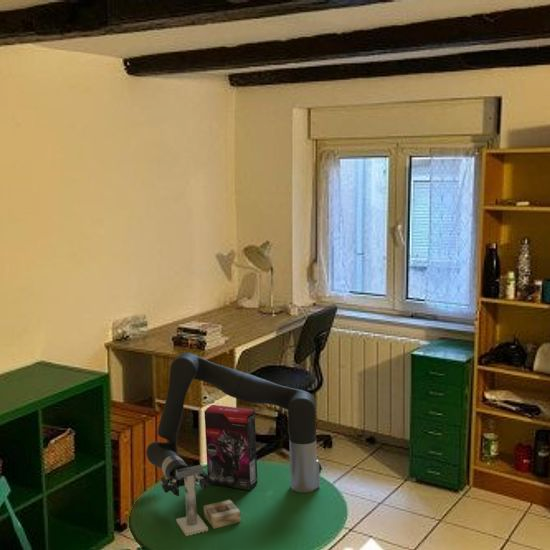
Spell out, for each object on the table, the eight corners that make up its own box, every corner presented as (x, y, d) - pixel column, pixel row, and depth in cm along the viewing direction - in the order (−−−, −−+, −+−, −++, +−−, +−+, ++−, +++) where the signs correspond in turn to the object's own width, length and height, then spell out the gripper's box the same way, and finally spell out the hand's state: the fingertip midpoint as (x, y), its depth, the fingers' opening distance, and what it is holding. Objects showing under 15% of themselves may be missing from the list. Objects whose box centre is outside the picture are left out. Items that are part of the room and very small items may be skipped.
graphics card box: (206, 484, 251) (202, 410, 247) (215, 476, 257) (212, 403, 253) (250, 491, 245) (247, 415, 240) (258, 483, 251) (256, 408, 247)
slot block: (230, 509, 232) (230, 499, 232) (240, 521, 224) (240, 511, 224) (204, 516, 229) (203, 505, 228) (213, 528, 220) (213, 518, 220)
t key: (202, 517, 225) (199, 463, 222) (205, 522, 222) (203, 467, 220) (177, 523, 222) (175, 469, 219) (180, 528, 219) (178, 472, 216)
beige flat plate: (197, 516, 228) (197, 513, 228) (208, 530, 219) (207, 527, 219) (176, 521, 225) (176, 518, 225) (186, 536, 216) (186, 533, 216)
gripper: (154, 463, 230) (168, 483, 216) (196, 455, 236) (213, 473, 221) (155, 485, 231) (169, 506, 217) (197, 476, 237) (214, 496, 223)
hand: (191, 490), depth 219 cm, fingers open, 8 cm apart
